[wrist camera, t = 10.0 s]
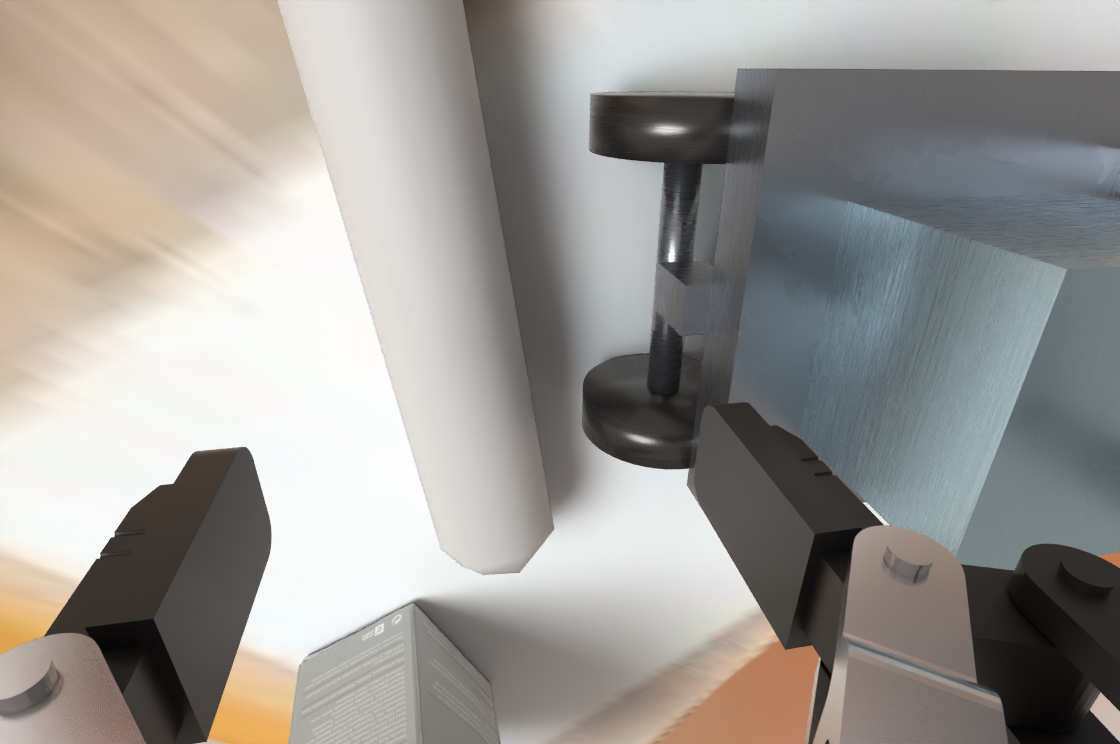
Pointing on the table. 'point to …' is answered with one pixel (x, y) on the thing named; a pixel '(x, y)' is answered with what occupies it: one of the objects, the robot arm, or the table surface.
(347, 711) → the skincare box
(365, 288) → the tube
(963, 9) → the table surface
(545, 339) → the table surface
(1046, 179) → the trolley
